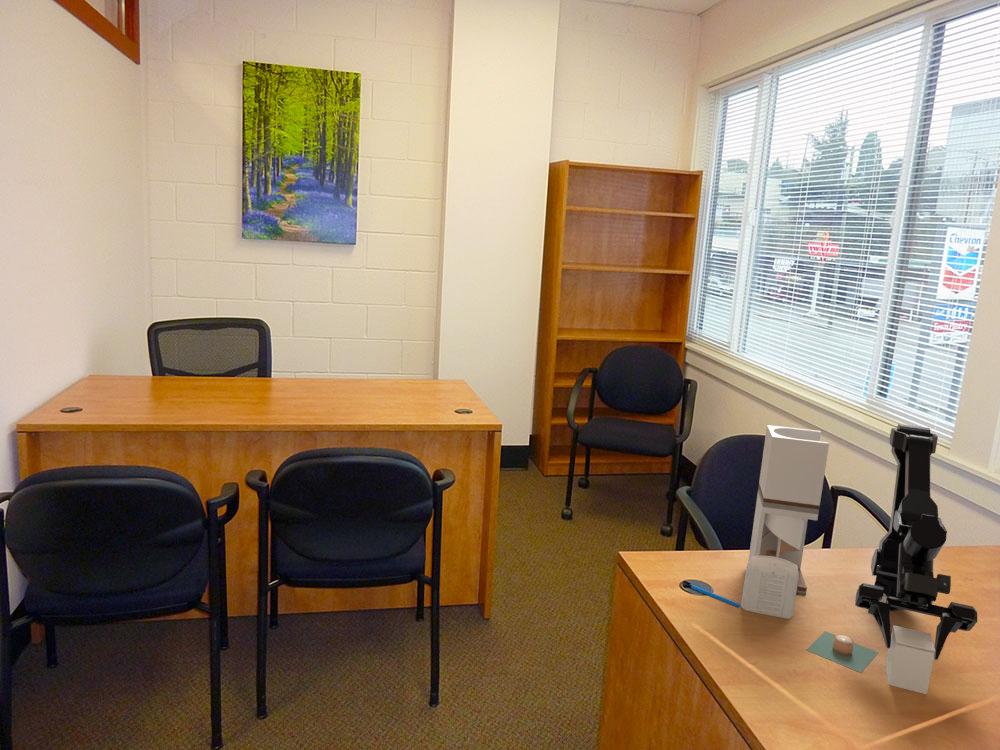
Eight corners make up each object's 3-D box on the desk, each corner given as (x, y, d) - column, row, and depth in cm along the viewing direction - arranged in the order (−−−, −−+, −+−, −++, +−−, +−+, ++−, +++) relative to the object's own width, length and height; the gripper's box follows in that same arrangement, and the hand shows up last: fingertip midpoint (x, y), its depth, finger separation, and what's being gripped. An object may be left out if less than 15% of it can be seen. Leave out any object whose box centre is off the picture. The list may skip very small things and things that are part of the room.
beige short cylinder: (840, 644, 144) (842, 632, 143) (855, 653, 141) (858, 642, 140) (828, 648, 142) (830, 636, 142) (843, 657, 139) (845, 645, 139)
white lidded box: (885, 669, 137) (893, 625, 136) (921, 678, 135) (930, 633, 133) (887, 687, 132) (896, 641, 130) (926, 697, 130) (935, 650, 128)
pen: (766, 620, 153) (767, 615, 153) (683, 586, 166) (684, 581, 165) (768, 619, 154) (769, 613, 154) (685, 585, 166) (686, 580, 166)
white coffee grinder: (751, 587, 166) (772, 436, 160) (747, 567, 177) (767, 424, 170) (805, 596, 164) (829, 443, 157) (798, 575, 174) (820, 431, 167)
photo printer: (791, 613, 156) (800, 558, 154) (793, 623, 152) (801, 566, 150) (740, 603, 159) (747, 549, 157) (740, 612, 155) (748, 557, 153)
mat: (824, 633, 149) (824, 631, 149) (877, 655, 142) (878, 652, 142) (805, 652, 141) (805, 649, 141) (860, 675, 135) (861, 672, 135)
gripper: (866, 541, 136) (860, 625, 128) (985, 565, 129) (986, 654, 121) (858, 565, 145) (851, 644, 137) (968, 588, 138) (968, 673, 130)
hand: (912, 653), depth 131 cm, fingers open, 7 cm apart
